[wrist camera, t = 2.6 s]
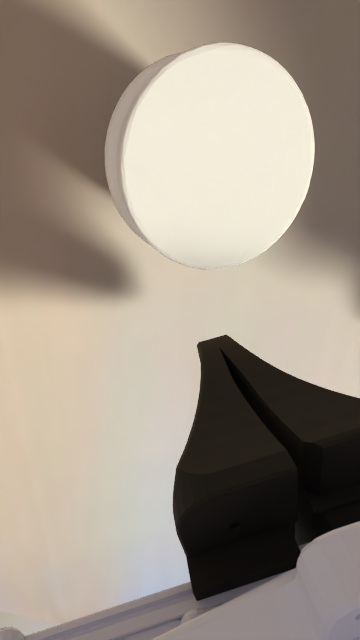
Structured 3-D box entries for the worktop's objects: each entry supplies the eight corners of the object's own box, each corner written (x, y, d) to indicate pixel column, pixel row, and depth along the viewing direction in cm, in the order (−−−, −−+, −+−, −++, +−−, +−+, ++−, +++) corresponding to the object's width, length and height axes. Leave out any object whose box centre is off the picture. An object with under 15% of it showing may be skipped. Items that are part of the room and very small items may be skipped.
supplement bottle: (107, 88, 11) (88, -29, 4) (224, 102, 12) (374, 26, 5) (112, 218, 14) (104, 287, 6) (210, 221, 15) (300, 286, 7)
